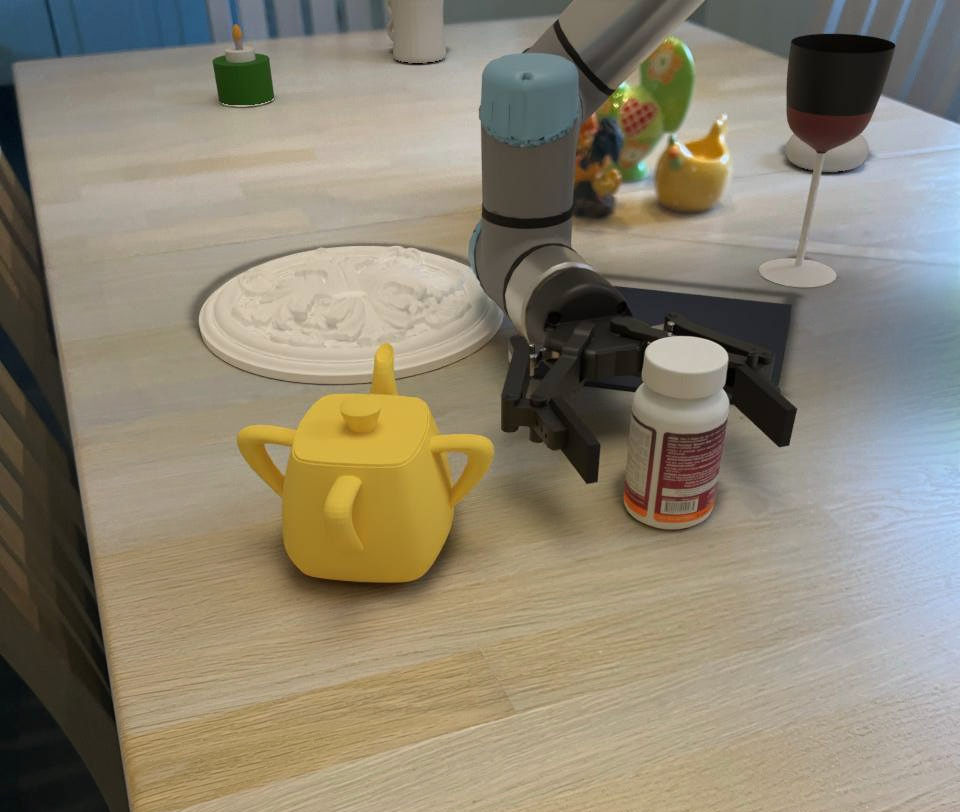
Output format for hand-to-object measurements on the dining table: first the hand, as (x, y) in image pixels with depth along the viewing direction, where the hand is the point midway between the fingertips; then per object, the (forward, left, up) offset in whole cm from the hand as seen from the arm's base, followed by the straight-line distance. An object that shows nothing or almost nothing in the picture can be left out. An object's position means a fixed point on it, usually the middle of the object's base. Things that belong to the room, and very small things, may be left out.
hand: (693, 446), depth 64 cm
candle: (+79, -94, -6) cm, 123 cm away
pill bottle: (+1, -2, -6) cm, 7 cm away
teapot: (+19, +7, -6) cm, 21 cm away
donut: (-6, -84, -6) cm, 84 cm away
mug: (+64, -127, -6) cm, 143 cm away
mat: (+5, -28, -6) cm, 29 cm away
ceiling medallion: (+34, -26, -6) cm, 44 cm away
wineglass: (-5, -47, -6) cm, 48 cm away
